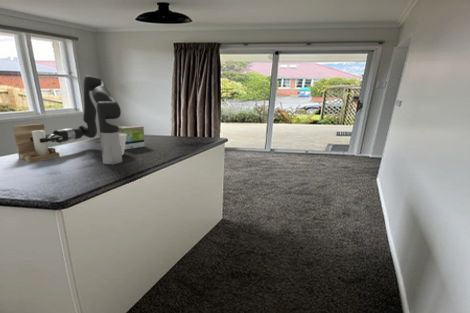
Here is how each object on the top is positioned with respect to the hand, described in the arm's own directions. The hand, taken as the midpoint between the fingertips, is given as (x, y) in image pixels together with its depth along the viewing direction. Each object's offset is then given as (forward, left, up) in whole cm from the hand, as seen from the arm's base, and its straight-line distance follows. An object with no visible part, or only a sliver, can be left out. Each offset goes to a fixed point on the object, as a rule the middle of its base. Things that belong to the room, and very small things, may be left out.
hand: (35, 140), depth 135 cm
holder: (+4, -2, -11) cm, 12 cm away
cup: (-24, -32, -11) cm, 41 cm away
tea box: (-14, -50, -11) cm, 53 cm away
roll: (0, -2, -8) cm, 9 cm away
